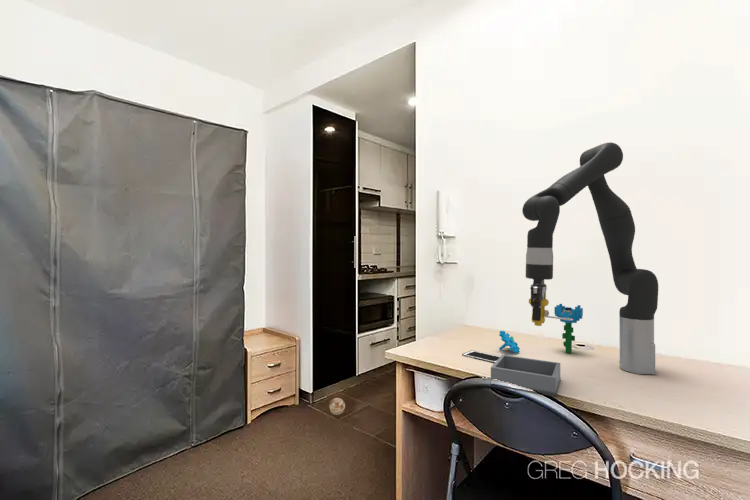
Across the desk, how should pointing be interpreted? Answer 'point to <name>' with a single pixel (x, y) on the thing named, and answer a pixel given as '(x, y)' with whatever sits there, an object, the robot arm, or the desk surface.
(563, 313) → the toy flower
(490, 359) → the cell phone
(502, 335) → the blue blocky piece
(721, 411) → the desk surface
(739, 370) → the desk surface
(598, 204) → the robot arm
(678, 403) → the desk surface
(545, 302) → the pressure relief valve
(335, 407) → the trinket box
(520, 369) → the bin
